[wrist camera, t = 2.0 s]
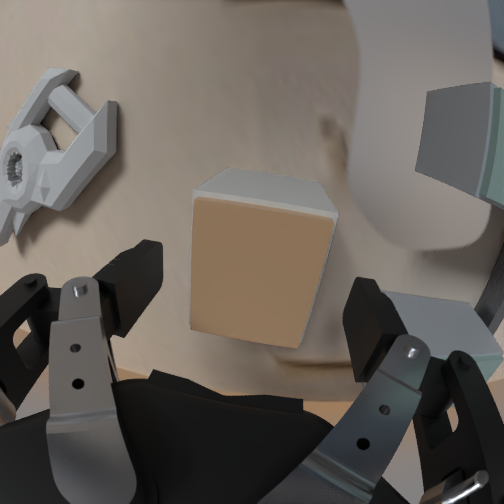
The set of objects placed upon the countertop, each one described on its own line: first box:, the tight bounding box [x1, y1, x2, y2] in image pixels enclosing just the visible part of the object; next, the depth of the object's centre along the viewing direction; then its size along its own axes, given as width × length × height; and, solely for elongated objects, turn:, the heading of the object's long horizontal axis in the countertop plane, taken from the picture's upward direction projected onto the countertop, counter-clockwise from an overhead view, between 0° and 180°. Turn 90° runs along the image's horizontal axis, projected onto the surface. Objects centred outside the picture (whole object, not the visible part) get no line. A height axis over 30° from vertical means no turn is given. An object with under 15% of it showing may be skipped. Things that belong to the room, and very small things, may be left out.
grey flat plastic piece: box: [0, 68, 117, 247], centre depth 14 cm, size 18×4×10 cm
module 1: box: [189, 168, 339, 349], centre depth 13 cm, size 6×5×6 cm
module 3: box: [362, 291, 504, 407], centre depth 14 cm, size 5×9×6 cm, turn 83°
